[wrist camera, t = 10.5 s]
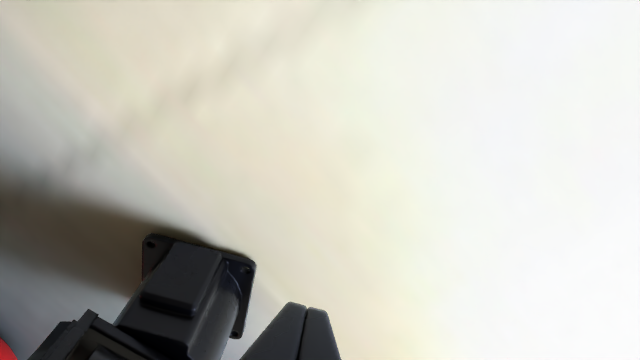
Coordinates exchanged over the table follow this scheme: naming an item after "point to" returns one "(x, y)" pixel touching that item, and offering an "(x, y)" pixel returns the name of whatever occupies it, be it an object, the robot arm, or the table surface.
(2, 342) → the tomato
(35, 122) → the table surface
